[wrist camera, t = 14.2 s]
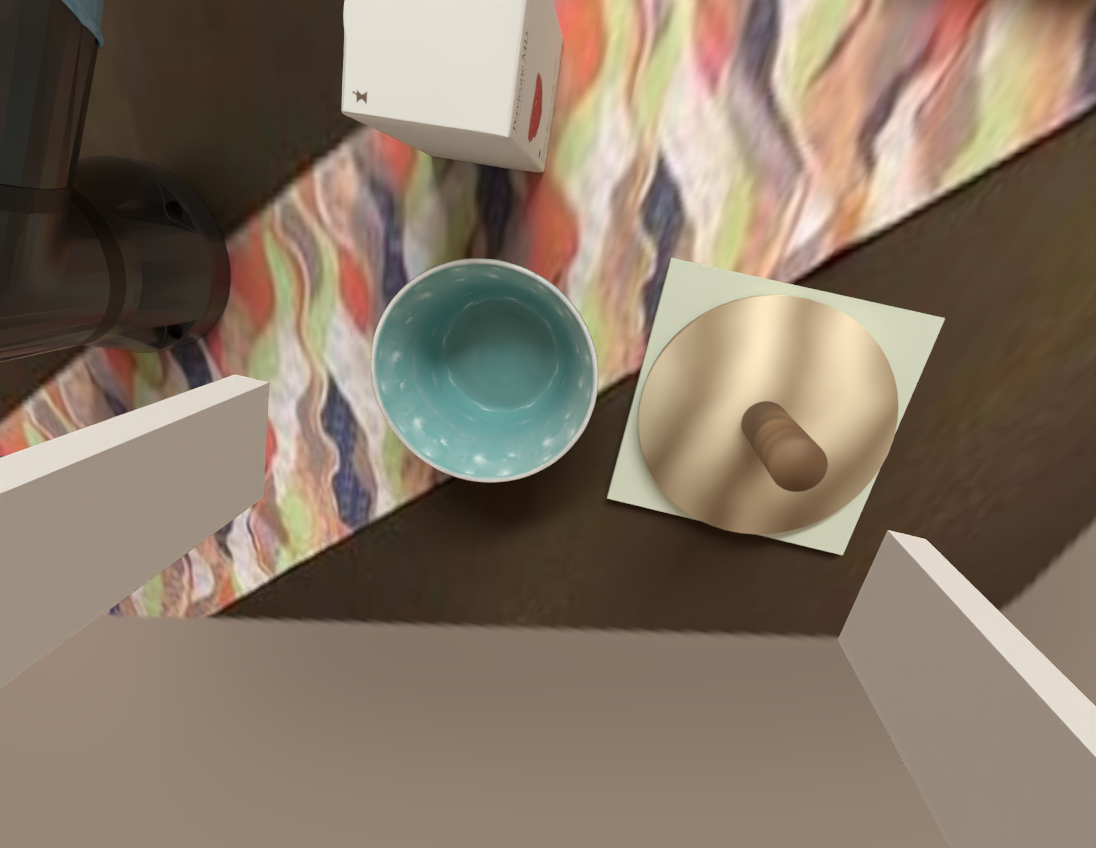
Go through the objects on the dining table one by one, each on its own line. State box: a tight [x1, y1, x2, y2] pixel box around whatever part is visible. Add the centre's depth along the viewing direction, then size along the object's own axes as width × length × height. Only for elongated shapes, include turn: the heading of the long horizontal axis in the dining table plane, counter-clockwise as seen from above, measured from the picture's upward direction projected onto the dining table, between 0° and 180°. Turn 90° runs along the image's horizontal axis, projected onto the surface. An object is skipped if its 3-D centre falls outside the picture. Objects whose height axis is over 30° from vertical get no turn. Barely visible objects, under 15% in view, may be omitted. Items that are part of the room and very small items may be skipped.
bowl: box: [371, 258, 598, 482], centre depth 43 cm, size 16×16×8 cm
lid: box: [638, 294, 898, 534], centre depth 40 cm, size 19×19×10 cm
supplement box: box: [342, 0, 563, 173], centre depth 34 cm, size 9×9×15 cm
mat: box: [607, 258, 945, 555], centre depth 46 cm, size 20×20×1 cm
